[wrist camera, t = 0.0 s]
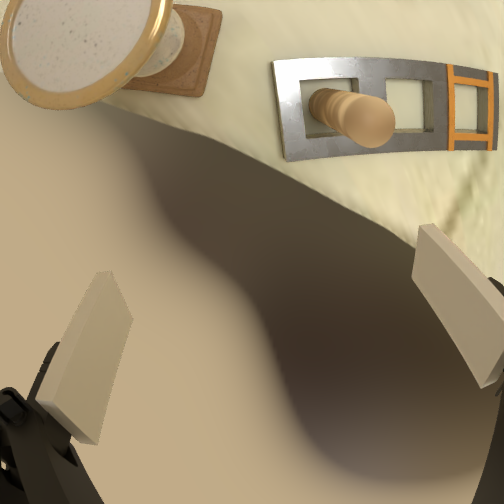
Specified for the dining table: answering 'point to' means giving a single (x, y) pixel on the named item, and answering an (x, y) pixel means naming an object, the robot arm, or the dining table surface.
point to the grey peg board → (373, 84)
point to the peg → (354, 115)
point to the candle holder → (105, 49)
